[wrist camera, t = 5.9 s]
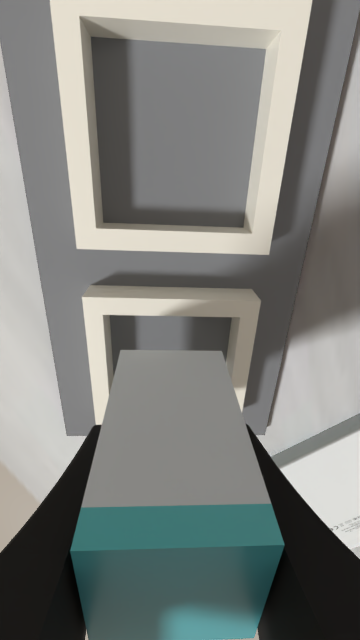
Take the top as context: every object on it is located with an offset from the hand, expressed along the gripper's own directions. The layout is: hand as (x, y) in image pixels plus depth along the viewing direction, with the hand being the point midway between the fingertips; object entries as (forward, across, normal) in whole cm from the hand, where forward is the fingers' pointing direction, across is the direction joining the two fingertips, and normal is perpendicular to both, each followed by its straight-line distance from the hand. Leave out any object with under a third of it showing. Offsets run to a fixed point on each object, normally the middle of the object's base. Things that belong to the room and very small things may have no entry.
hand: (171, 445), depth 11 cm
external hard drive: (+7, -13, +12) cm, 19 cm away
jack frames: (+6, 0, -5) cm, 8 cm away
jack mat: (+6, 0, -5) cm, 8 cm away
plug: (+3, 0, 0) cm, 3 cm away
